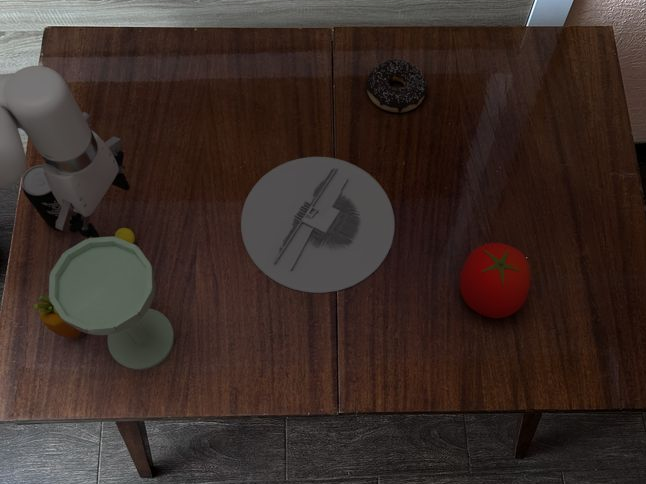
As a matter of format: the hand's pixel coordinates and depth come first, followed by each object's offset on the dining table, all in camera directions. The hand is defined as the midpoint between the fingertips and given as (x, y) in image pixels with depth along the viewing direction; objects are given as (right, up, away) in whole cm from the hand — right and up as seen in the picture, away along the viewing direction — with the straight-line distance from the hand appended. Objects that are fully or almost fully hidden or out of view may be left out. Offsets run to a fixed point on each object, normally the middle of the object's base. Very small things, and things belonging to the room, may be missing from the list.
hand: (106, 210), depth 111 cm
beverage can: (-12, +1, +14) cm, 19 cm away
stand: (+4, -21, +7) cm, 22 cm away
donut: (+48, +28, +26) cm, 62 cm away
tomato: (+63, -13, +12) cm, 66 cm away
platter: (+5, -14, -13) cm, 20 cm away
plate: (+33, +1, +16) cm, 37 cm away
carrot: (-7, -20, +7) cm, 22 cm away
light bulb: (-1, -4, +12) cm, 13 cm away
